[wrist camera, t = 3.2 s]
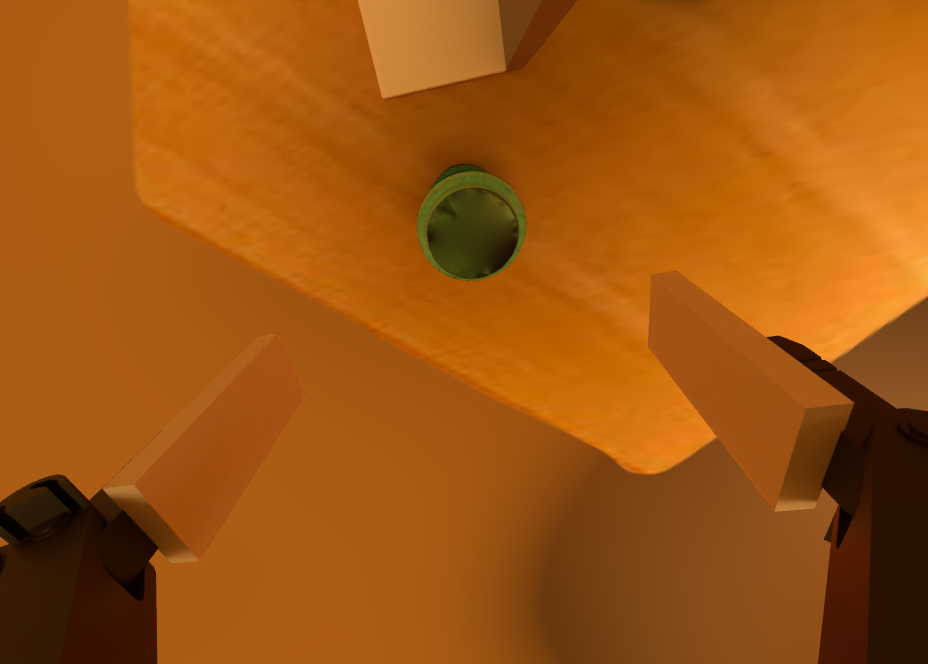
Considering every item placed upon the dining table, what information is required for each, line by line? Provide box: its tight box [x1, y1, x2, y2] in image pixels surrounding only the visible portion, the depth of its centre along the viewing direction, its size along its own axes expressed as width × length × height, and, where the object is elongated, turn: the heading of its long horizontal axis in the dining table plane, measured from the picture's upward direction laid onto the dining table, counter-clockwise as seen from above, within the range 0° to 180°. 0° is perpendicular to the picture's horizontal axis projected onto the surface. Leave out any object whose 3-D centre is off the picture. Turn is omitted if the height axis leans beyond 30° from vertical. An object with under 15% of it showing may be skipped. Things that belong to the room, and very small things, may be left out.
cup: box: [417, 164, 526, 281], centre depth 32 cm, size 8×8×12 cm
